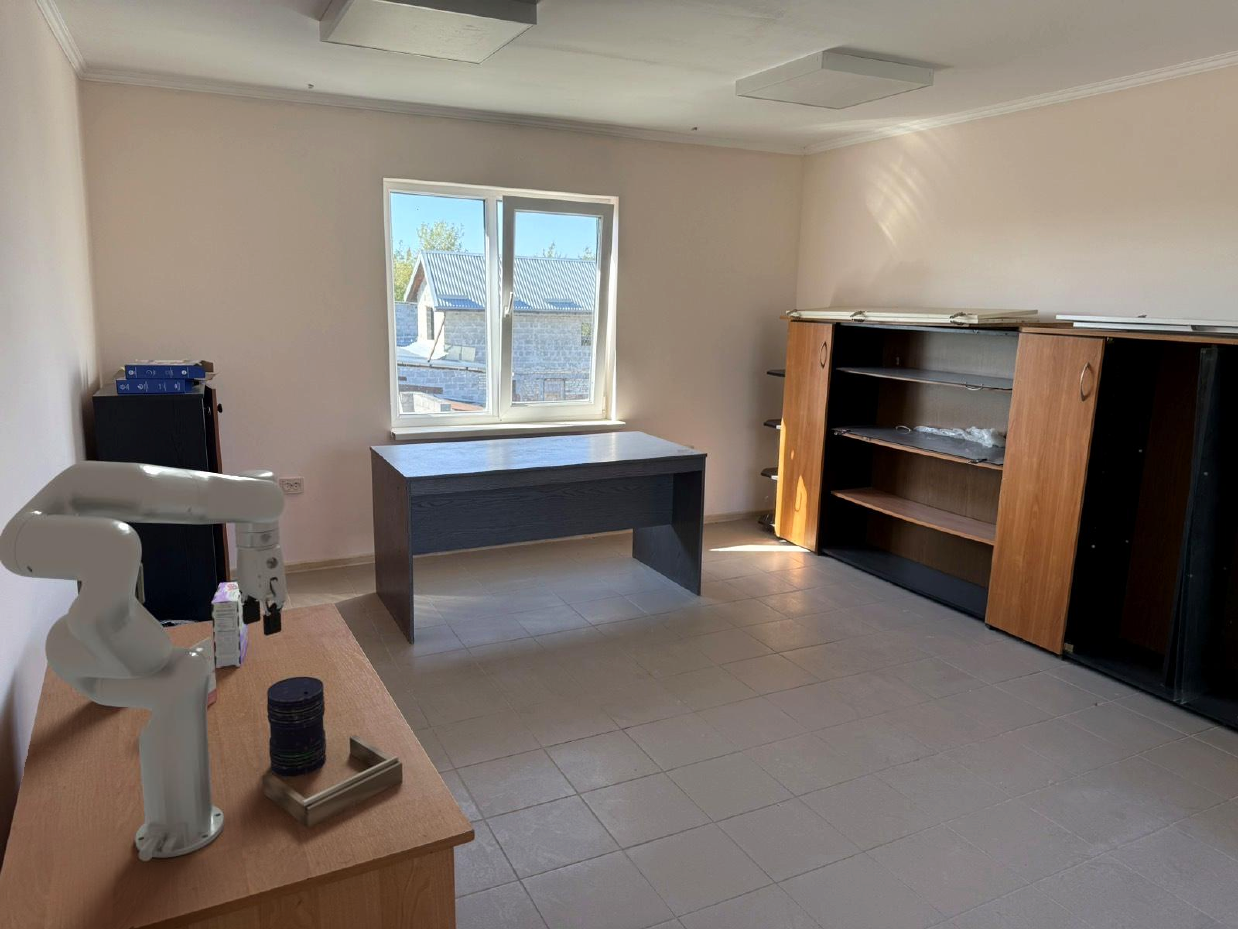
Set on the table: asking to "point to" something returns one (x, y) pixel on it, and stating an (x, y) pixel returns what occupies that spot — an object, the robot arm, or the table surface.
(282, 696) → the dark blue cylinder
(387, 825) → the table surface
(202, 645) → the ink cartridge box
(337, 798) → the dock
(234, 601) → the candy box
